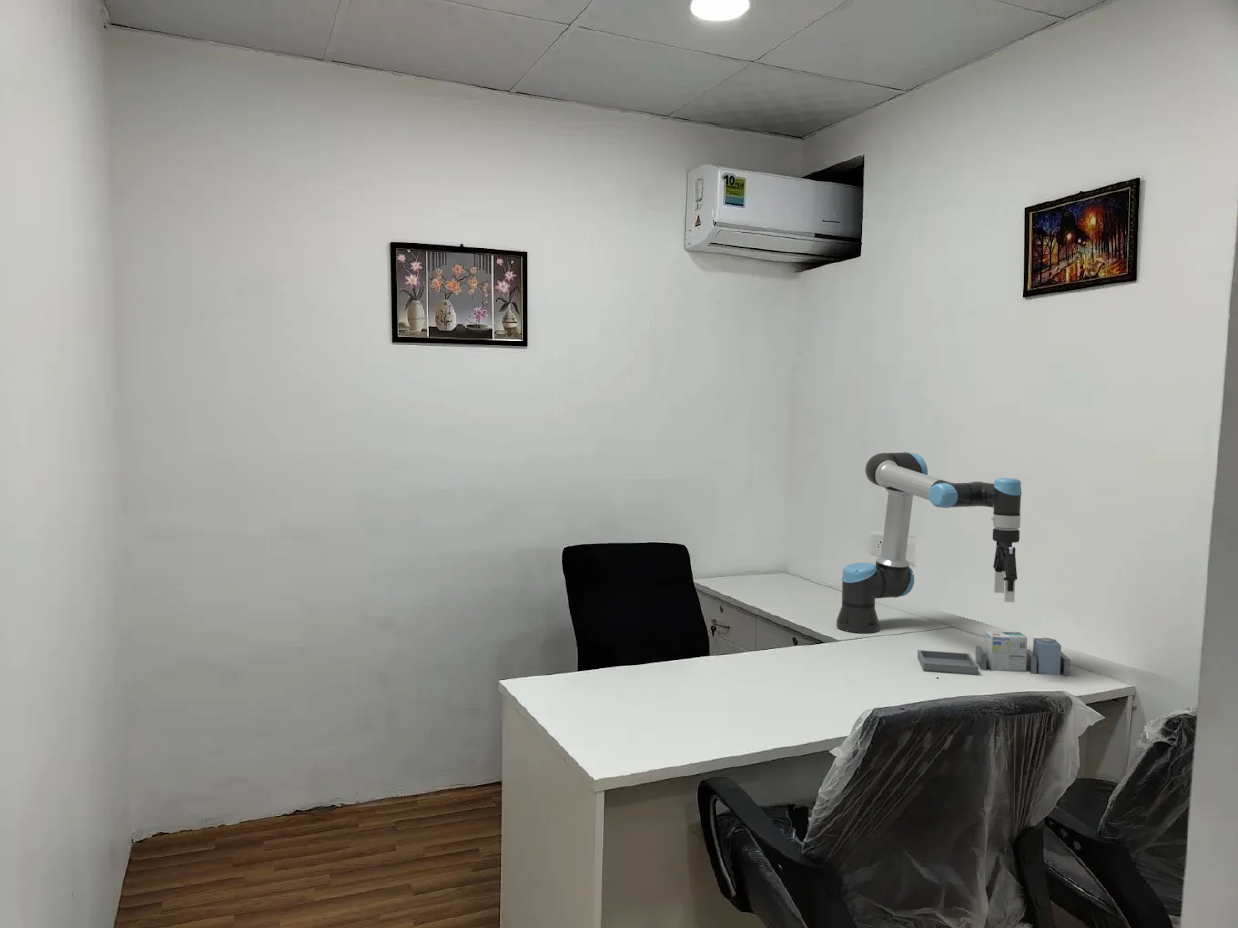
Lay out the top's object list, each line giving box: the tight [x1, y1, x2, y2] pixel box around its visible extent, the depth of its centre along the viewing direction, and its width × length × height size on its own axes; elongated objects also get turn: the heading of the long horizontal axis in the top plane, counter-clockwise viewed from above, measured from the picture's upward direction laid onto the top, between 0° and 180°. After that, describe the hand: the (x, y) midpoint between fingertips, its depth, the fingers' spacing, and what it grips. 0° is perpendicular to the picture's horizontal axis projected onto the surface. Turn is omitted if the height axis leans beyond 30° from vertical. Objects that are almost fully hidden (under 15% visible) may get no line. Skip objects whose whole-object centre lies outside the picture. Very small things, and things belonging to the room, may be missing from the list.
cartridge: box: [1032, 637, 1062, 675], centre depth 258 cm, size 7×6×10 cm
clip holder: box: [974, 645, 1071, 677], centre depth 259 cm, size 9×25×5 cm, turn 77°
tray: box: [916, 649, 979, 676], centre depth 261 cm, size 15×16×2 cm
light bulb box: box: [984, 630, 1028, 672], centre depth 260 cm, size 11×7×11 cm, turn 84°
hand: (1004, 597), depth 259 cm, fingers open, 13 cm apart
